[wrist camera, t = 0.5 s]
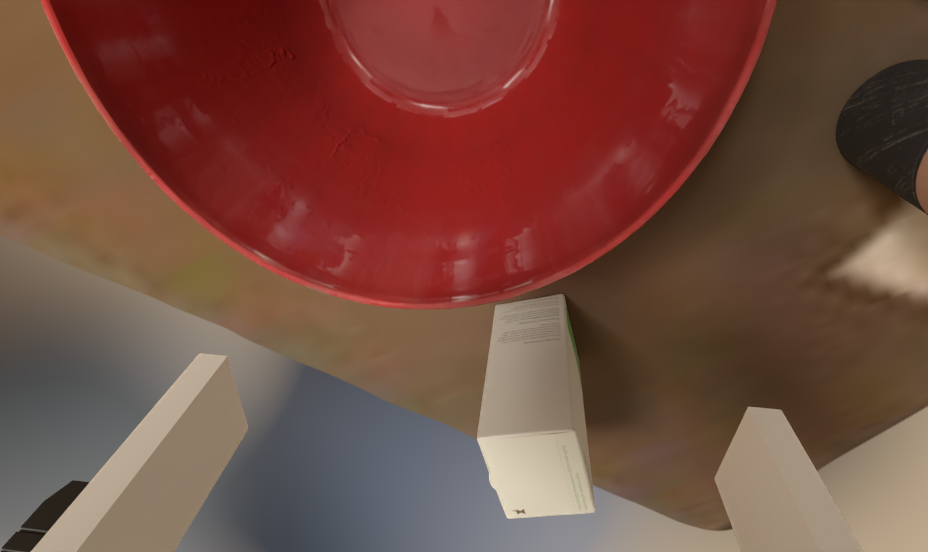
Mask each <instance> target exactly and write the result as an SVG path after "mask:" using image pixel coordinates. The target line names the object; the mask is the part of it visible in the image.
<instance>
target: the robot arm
mask: <svg viewBox="0 0 928 552" xmlns="http://www.w3.org/2000/svg"><path fill="white" fill-rule="evenodd" d="M247 430H248V425H247V421H246V418H245V414H244V411H243V408H242V404H241V401H240V397H239V395H238V391H237V387H236V384H235V381H234V378H233V374H232V370H231V367H230V364H229V360H228V357H227V356H221V355H211V354H200V353H199V355H198V356H197V357H196V358H195V359H194V360H193V362H192V363H191V364H190V365H189V366H188V367H187V368H186V370H185V371H184V372H183V373H182V375H181V376H180V377H179V378H178V379H177V380H176V381H175V383H174V384H173V385H172V386H171V387H170V388H169V390H168V391H167V392H166V393H165V395H164V396H163V397H162V398H161V399H160V400H159V402H158V403H157V404H156V405H155V406H154V407H153V409H152V410H151V411H150V412H149V413H148V415H147V416H146V417H145V418H144V419H143V420H142V422H141V423H140V424H139V425H138V426H137V427H136V428H135V430H134V431H133V432H132V433H131V434H130V436H129V437H128V438H127V439H126V440H125V441H124V443H123V444H122V445H121V446H120V447H119V448H118V450H117V451H116V452H115V453H114V454H113V456H112V457H111V458H110V459H109V460H108V462H107V463H106V464H105V465H104V466H103V467H102V468H101V470H100V471H99V472H98V473H97V474H96V476H95V477H94V478H93V479H92V480H91V481H90V482H81V481H71V482H70V483H69V484H67V485H66V486H64V487H63V488H62V489H60V490H59V491H58V492H56V493H55V494H53V495H52V496H51V497H49V498H48V499H46V500H45V501H44V502H43V503H42V504H41V505H40V506H39V508H38V509H37V510H36V511H35V512H34V513H33V514H32V515H31V516H30V517H29V519H28V520H27V521H26V522H25V523H24V524H23V525H22V526H21V530H20V531H19V532H16V533H15V534H14V535H13V536H12V537H11V539H9V541H8V542H7V543H6V544H5V545H4V546H3V547H2V551H1V552H174V551H175V549H176V548H177V546H178V544H179V543H180V541H181V539H182V538H183V536H184V534H185V533H186V531H187V530H188V528H189V526H190V524H191V523H192V521H193V519H194V518H195V516H196V515H197V513H198V511H199V510H200V508H201V506H202V505H203V503H204V501H205V500H206V498H207V496H208V495H209V493H210V491H211V490H212V488H213V486H214V485H215V483H216V481H217V480H218V478H219V477H220V475H221V473H222V472H223V470H224V468H225V466H226V465H227V463H228V462H229V460H230V458H231V457H232V455H233V453H234V452H235V450H236V448H237V446H238V445H239V443H240V442H241V440H242V438H243V437H244V435H245V433H246V432H247ZM714 479H715V482H716V485H717V487H718V490H719V493H720V496H721V498H722V501H723V504H724V506H725V509H726V512H727V514H728V517H729V520H730V522H731V525H732V528H733V531H734V533H735V536H736V539H737V541H738V544H739V547H740V549H741V552H864V551H863V549H862V548H861V546H860V544H859V543H858V541H857V539H856V537H855V536H854V534H853V532H852V531H851V529H850V527H849V526H848V524H847V522H846V520H845V518H844V517H843V515H842V513H841V512H840V510H839V508H838V506H837V505H836V503H835V501H834V500H833V498H832V497H831V494H830V493H829V491H828V489H827V488H826V486H825V484H824V483H823V481H822V479H821V477H820V476H819V474H818V472H817V470H816V469H815V467H814V465H813V463H812V462H811V460H810V458H809V457H808V455H807V453H806V451H805V450H804V448H803V446H802V445H801V443H800V441H799V439H798V438H797V436H796V434H795V433H794V431H793V429H792V427H791V426H790V424H789V422H788V421H787V419H786V417H785V415H784V414H783V412H782V410H779V409H769V408H758V407H748V408H747V410H746V412H745V414H744V416H743V419H742V421H741V423H740V425H739V427H738V429H737V431H736V433H735V435H734V438H733V440H732V442H731V444H730V446H729V448H728V450H727V452H726V455H725V457H724V459H723V461H722V463H721V465H720V467H719V469H718V471H717V474H716V476H715V478H714Z"/></svg>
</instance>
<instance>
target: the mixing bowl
mask: <svg viewBox="0 0 928 552" xmlns="http://www.w3.org/2000/svg"><path fill="white" fill-rule="evenodd" d="M40 1H41V3H42V6H43V8H44V11H45V13H46V15H47V18H48V20H49V22H50V24H51V26H52V29H53V31H54V33H55V35H56V37H57V39H58V41H59V43H60V45H61V47H62V49H63V51H64V53H65V55H66V57H67V59H68V61H69V63H70V64H71V66H72V68H73V70H74V72H75V74H76V76H77V77H78V79H79V81H80V82H81V84H82V85H83V87H84V89H85V90H86V92H87V94H88V95H89V97H90V99H91V100H92V102H93V103H94V105H95V107H96V108H97V110H98V111H99V113H100V114H101V115H102V117H103V118H104V120H105V121H106V123H107V124H108V125H109V127H110V128H111V130H112V131H113V132H114V134H115V135H116V137H117V138H118V139H119V141H120V142H121V143H122V144H123V146H124V147H125V148H126V149H127V151H128V152H129V153H130V155H131V156H132V157H133V158H134V159H135V161H136V162H137V163H138V164H139V165H140V166H141V167H142V168H143V170H144V171H145V172H146V173H147V174H148V175H149V176H150V177H151V178H152V179H153V180H154V182H155V183H156V184H157V185H158V186H159V187H160V188H161V189H162V190H163V191H164V192H165V193H166V194H167V195H168V196H169V197H170V198H171V199H172V200H173V201H174V202H175V203H176V204H178V205H179V206H180V207H181V208H182V209H183V210H184V211H185V212H186V213H187V214H189V215H190V216H191V217H192V218H193V219H194V220H196V221H197V222H198V223H199V224H200V225H202V226H203V227H204V228H205V229H207V230H208V231H209V232H210V233H212V234H213V235H215V236H216V237H218V238H219V239H221V240H222V241H223V242H225V243H226V244H227V245H229V246H230V247H231V248H233V249H235V250H236V251H238V252H239V253H241V254H242V255H244V256H246V257H247V258H249V259H251V260H252V261H254V262H256V263H257V264H259V265H261V266H262V267H264V268H266V269H268V270H270V271H272V272H274V273H276V274H278V275H280V276H282V277H284V278H287V279H289V280H291V281H293V282H296V283H298V284H300V285H303V286H305V287H308V288H311V289H313V290H316V291H319V292H322V293H326V294H329V295H332V296H335V297H339V298H343V299H347V300H351V301H355V302H359V303H364V304H371V305H377V306H383V307H392V308H401V309H451V308H461V307H471V306H477V305H482V304H487V303H492V302H497V301H501V300H505V299H509V298H513V297H516V296H519V295H522V294H525V293H528V292H531V291H533V290H536V289H539V288H541V287H544V286H546V285H549V284H551V283H553V282H555V281H558V280H560V279H562V278H564V277H566V276H568V275H571V274H573V273H574V272H576V271H578V270H579V269H581V268H583V267H585V266H586V265H588V264H590V263H592V262H593V261H595V260H596V259H598V258H599V257H601V256H602V255H604V254H606V253H607V252H609V251H610V250H612V249H613V248H614V247H616V246H617V245H618V244H620V243H621V242H622V241H624V240H625V239H626V238H628V237H629V236H630V235H631V234H632V233H634V232H635V231H636V230H637V229H639V228H640V227H641V226H642V225H643V224H644V223H645V222H647V221H648V220H649V219H650V218H651V217H652V216H653V215H654V214H655V213H656V212H657V211H658V210H659V209H660V208H661V207H662V206H663V205H664V204H665V203H666V202H667V201H668V199H669V198H670V197H671V196H672V195H673V194H674V193H675V192H676V191H677V190H678V189H679V188H680V187H681V185H682V184H683V183H684V182H685V181H686V179H687V178H688V177H689V176H690V175H691V173H692V172H693V171H694V169H695V168H696V167H697V166H698V164H699V163H700V162H701V161H702V159H703V158H704V157H705V155H706V154H707V153H708V151H709V150H710V148H711V147H712V145H713V143H714V142H715V140H716V139H717V137H718V136H719V134H720V132H721V131H722V129H723V127H724V126H725V124H726V122H727V121H728V119H729V117H730V115H731V114H732V112H733V110H734V108H735V106H736V104H737V102H738V100H739V98H740V97H741V95H742V93H743V91H744V89H745V87H746V85H747V83H748V80H749V78H750V76H751V74H752V71H753V69H754V67H755V65H756V63H757V60H758V58H759V56H760V54H761V51H762V48H763V45H764V42H765V39H766V36H767V33H768V31H769V28H770V25H771V22H772V18H773V15H774V11H775V7H776V4H777V0H40Z"/></svg>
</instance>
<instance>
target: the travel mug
mask: <svg viewBox="0 0 928 552" xmlns="http://www.w3.org/2000/svg"><path fill="white" fill-rule="evenodd" d="M836 139H837V144H838V147H839V149H840V151H841V153H842V154H843V156H844V157H845V158H846V159H847V160H848V161H849V162H850V163H852V164H853V165H855V166H856V167H857V168H859V169H860V170H862V171H863V172H865V173H866V174H868V175H869V176H871V177H872V178H874V179H875V180H877V181H878V182H880V183H881V184H883V185H884V186H886V187H887V188H889V189H890V190H892V191H893V192H894V193H896V194H897V195H899V196H900V197H902V198H903V199H905V200H906V201H908V202H909V203H911V204H912V205H914V206H915V207H917V208H918V209H920V210H921V211H923V212H924V213H926V214H927V215H928V60H912V61H907V62H903V63H899V64H896V65H893V66H891V67H889V68H887V69H884V70H882V71H881V72H879V73H877V74H876V75H874V76H873V77H871V78H870V79H868V80H867V81H866V82H865V83H864V84H863V85H861V86H860V87H859V88H858V89H857V90H856V91H855V92H854V94H853V95H852V96H851V97H850V99H849V100H848V101H847V103H846V105H845V106H844V108H843V110H842V112H841V114H840V117H839V120H838V124H837V129H836Z"/></svg>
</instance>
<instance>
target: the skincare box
mask: <svg viewBox="0 0 928 552" xmlns="http://www.w3.org/2000/svg"><path fill="white" fill-rule="evenodd" d="M477 441H478V443H479V446H480V448H481V451H482V454H483V457H484V460H485V462H486V465H487V468H488V471H489V481H490V484H491V486H492V487H493V488H494V489H495V490H496V491H497V494H498V496H499V499H500V502H501V504H502V507H503V509H504V512H505V514H506V516H507V518H508V519H509V518H510V519H511V518H526V517H538V516H550V515H569V514H583V513H593V512H595V505H594V496H593V487H592V478H591V469H590V459H589V450H588V441H587V431H586V422H585V413H584V404H583V393H582V384H581V374H580V365H579V359H578V354H577V350H576V345H575V341H574V336H573V332H572V328H571V324H570V320H569V315H568V311H567V306H566V301H565V297H564V294H557V295H552V296H546V297H540V298H535V299H529V300H523V301H517V302H511V303H505V304H499V305H496V306H495V313H494V320H493V329H492V335H491V342H490V349H489V356H488V363H487V370H486V377H485V384H484V391H483V398H482V406H481V412H480V419H479V427H478V434H477Z"/></svg>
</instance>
